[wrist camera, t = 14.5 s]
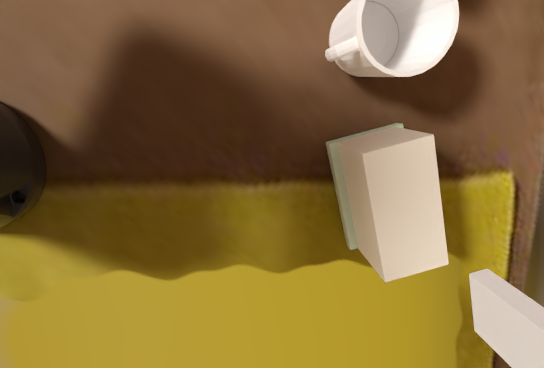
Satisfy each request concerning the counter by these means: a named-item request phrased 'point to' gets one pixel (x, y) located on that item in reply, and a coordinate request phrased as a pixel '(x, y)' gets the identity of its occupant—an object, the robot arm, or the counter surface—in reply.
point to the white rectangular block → (395, 201)
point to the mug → (392, 36)
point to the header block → (341, 187)
